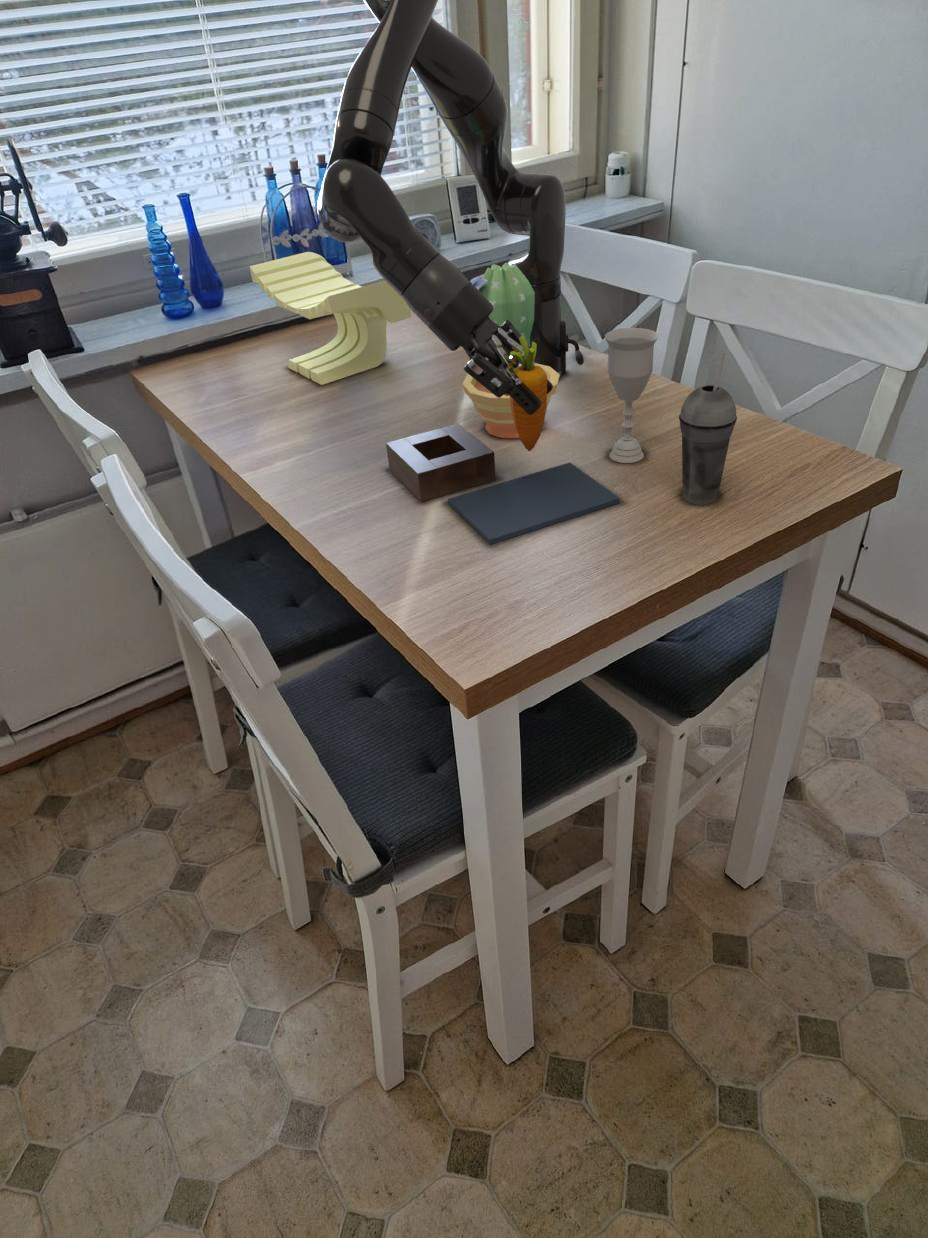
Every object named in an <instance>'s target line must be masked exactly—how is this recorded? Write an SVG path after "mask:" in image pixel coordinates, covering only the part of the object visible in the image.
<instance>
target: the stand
mask: <svg viewBox="0 0 928 1238" xmlns="http://www.w3.org/2000/svg"><path fill="white" fill-rule="evenodd" d="M385 447H386V455H387V461H388V469H389V471H390V472H391V473H392V475H394V476H395V477H396V479H398V480H399V482H401V483H402V484H403V485H404V487H406V489H408V491H409V492H410V493H411V494H412V495H413V496H414V497H415V498H416V499H417V500H418V501H419V502H420V503H424V502H426V501H430V500H434V499H438V498H440V497H444V496H447V495H451V494H453V493H458V492H460V491H464V490H468V489H470V488H473V487H478V486H480V485H483V484H488V483H491V482H493V481H496V480H497V475H496V460H495V451H493V450H492V449H491V448H490V447H488V446H487V445H486V444H485V443H483V442H482V441H481V440H480V439H478V438H477V437H476V436H475V435H473V434H472V433H471V432H469V431H468V430H467V429H466V428H464V427H463V426H462V425H461V424H460V423H455V424H451V425H447V426H444V427H440V428H436V429H431V430H429V431H424V432H421V433H417V434H414V435H409V436H407V437H403V438H398V439H395V440H391V441H387V442H385Z"/></svg>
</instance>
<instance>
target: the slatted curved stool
mask: <svg viewBox="0 0 928 1238" xmlns="http://www.w3.org/2000/svg"><path fill="white" fill-rule="evenodd" d="M249 271H250V275H251V280H252V282H253V283H255V284H258V286H259V290H261V291H263V292H266V294H267V298H269V299H272V300H273V299H274V303H275V306H277V307H280V308H282V309H285V310H287V311H290V312H292V313H294V314H296V315H299V316H300V317H303V318H305V319H308V320H313V319H316V318H321V317H325V316H329V315H333V316H334V318H335V320H336V321H335V322H336V324H337V333H336V335H335V336H334V337H333V339H332V340H330V341H329V342H328V343H327V344H325V345H323V346H321V347H319V348H317V349H315V350H312V351H310V352H308V353H304V354H302V355H299V356H296V357H292V358H290V359H288V369H290V370H292V371H293V372H296V373H299V375H302V376H303V377H305V378H307V379H311V381H312V382H315V383H316V384H319V385H320V386H323V385H326V384H329V383H331V382H335V381H339V380H341V379H344V378H347V377H350V376H353V375H356V374H359V373H362V372H365V371H368V370H371V369H374V368H377V367H379V366H381V364H383V362H384V360H385V358H386V354H387V348H388V347H387V346H388V343H387V322H389V324H395V323H398V322H400V321H403V320H407V319H410V318H412V314H411V308H410V307H409V306H408V304H407V303H406V302H405V300H404V299H403V298H402V296H400V295H399V294H398V293H397V292H396V291H395V290H394V289H393V288H392V287H391V286H390V285H389V284H388V283H387V282H386V281H385V280H381V281H378V282H373V283H371V284H368V285H364V286H362V285H359V284H356V283H355V282H352V281H351V280H348V279H347V278H345V277H344V276H343V275H342V273H341V272H339V271H337V270H336V269H335V267H334V265H332V264H330V263H329V262H328V261H327V260H326V259H325V257H323V256H322V255H320V254H318V253H316V252H312V251H305V252H302V253H296V254H293V255H289V256H285V257H281V258H277V259H274V260H273V259H272V260H269V261H265V262H261V263H257V264H253V265H249Z"/></svg>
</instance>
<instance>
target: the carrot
mask: <svg viewBox="0 0 928 1238" xmlns="http://www.w3.org/2000/svg"><path fill="white" fill-rule="evenodd" d="M519 340H520V343H521V346H522V348H523V351H524V354H525V355H524V354H522V352H518V353H517V352H515V351H512V352H510V355H511V356H512V357H515V358H516V359H517V360H518V361H519V362H520V363H521V366H518V367H516V368H515V369H513V370H514V371H515V373H516V374H517V376H518V377H519V379H520V380H521V383H522V382H523V383H524V384H525V385H526V386H527V387H528V388H529V389H530V390H531V391H532V392H533V393H534V394H535V395H536V396H537V397H538V398H539V399H540V400H541V402H542V405H541V407H540V408H539V409H538V410H537V411H536V412H535V413H534V414H532V415H529V414H527V413H526V412H525V411H524V410H523V408H522V407H521V406H520V405H519V404H518V403H517V402H516V401H515V400H514V399H513V398H512V397H511V396H510V406H511V411H512V416H513V420H514V424H515V428H516V431H517V433H518V435H519V438H518V439H520V442H521V443H522V445H523V447H524V448H525V450H526V451H527V452H531V451H532V450H533V449H534V448H535V446H536V444H537V443H538V441H539V439H540V436H541V434H542V431H543V428H544V424H545V419H546V412H547V410H546V404H547V375H546V373H545V372H544V370H543V369H542V368H541V367H540V366H536V365H533V363H534V360H535V356H536V349H537V344H536V343H535V342H532V347H531V348H530V349H529V346H528V343H527V340H526V338H525V336H521V337H520V338H519ZM525 358H526V360H525Z"/></svg>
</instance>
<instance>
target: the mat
mask: <svg viewBox="0 0 928 1238" xmlns="http://www.w3.org/2000/svg"><path fill="white" fill-rule="evenodd" d="M620 498H621V497H619V496H618V495H616V494H615V493H613V492H612V491H611V490H609V489H607V488H606V487H605V486H604V485H602V484H601V483H599V482H598V481H596V480H595V479H594V478H592V477H591V476H589V475H588V474H586V473H585V472H584V471H582V470H581V469H579V468H578V467H577V466H576V465H574V464H573V463H571V462H567V463H564V464H560V465H556V466H554V467H550V468H546V469H543V470H540V471H537V472H533V473H529V474H527V475H524V476H520V477H516V478H513V479H510V480H506V481H503V482H500V483H496V484H493V485H490V486H486V487H483V488H479V489H476V490H472V491H469V492H466V493H463V494H459V495H456V496H453V497H449V498H447V505H448V506H450V507H451V509H453V510H454V512H456V514H458V515H459V517H461V518H462V519H463V520H464V521H465V522H466V523H467V524H468V525H469V526H470V527H471V528H472V529H473V530H474V531H475V532H476V533H478V535H480V537H482V539H484V540H485V541H486V542H487V543H488V544H489V545H494V544H496V543H497V544H498V543H500V542H503V541H506V540H509V539H512V538H515V537H518V536H522V535H524V534H528V533H531V532H534V531H537V530H540V529H543V528H546V527H549V526H552V525H556V524H558V523H563V522H564V521H568V520H571V519H574V518H577V517H581V516H583V515H587V514H589V513H592V512H596V511H599V510H602V509H604V508H609V507H612V506H614V505H617V504H620Z"/></svg>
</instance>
